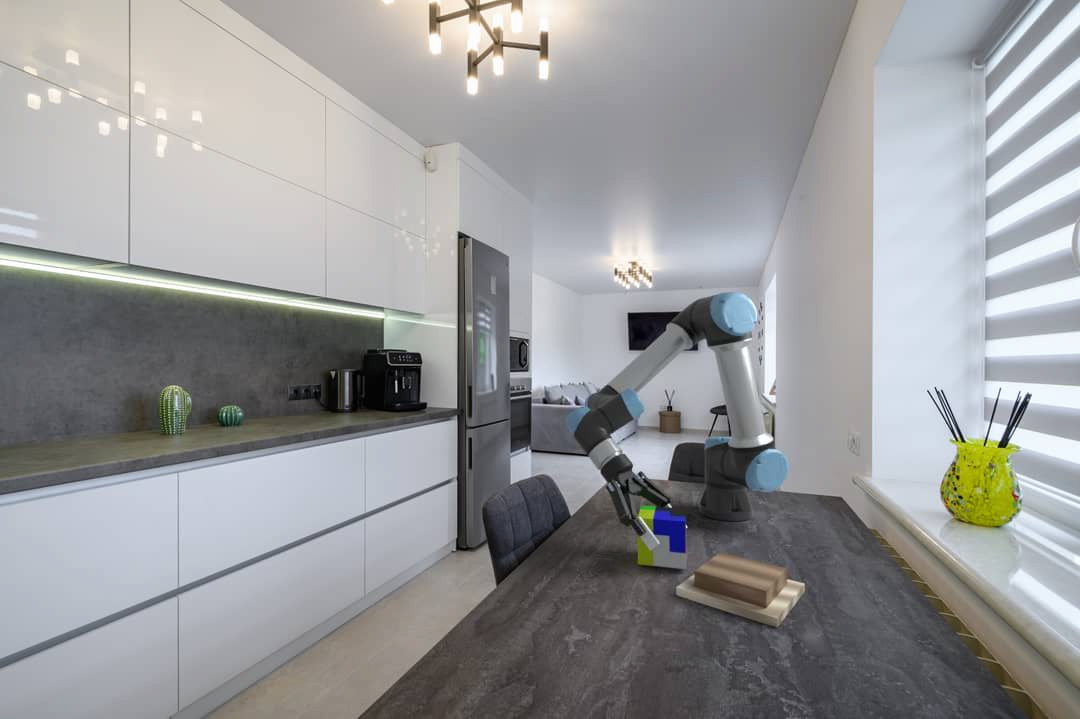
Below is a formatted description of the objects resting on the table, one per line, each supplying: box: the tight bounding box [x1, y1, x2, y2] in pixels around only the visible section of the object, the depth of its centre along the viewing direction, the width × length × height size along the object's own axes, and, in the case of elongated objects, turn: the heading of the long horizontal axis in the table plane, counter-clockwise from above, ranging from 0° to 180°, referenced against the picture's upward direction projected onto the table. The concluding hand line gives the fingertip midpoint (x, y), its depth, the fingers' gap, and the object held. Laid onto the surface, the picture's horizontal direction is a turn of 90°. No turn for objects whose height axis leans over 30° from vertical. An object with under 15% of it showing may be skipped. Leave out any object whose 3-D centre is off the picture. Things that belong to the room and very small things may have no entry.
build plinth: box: [675, 551, 806, 628], centre depth 95 cm, size 18×18×4 cm
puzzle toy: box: [637, 504, 687, 570], centre depth 111 cm, size 10×10×10 cm
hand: (670, 538), depth 109 cm, fingers closed on puzzle toy, 13 cm apart
